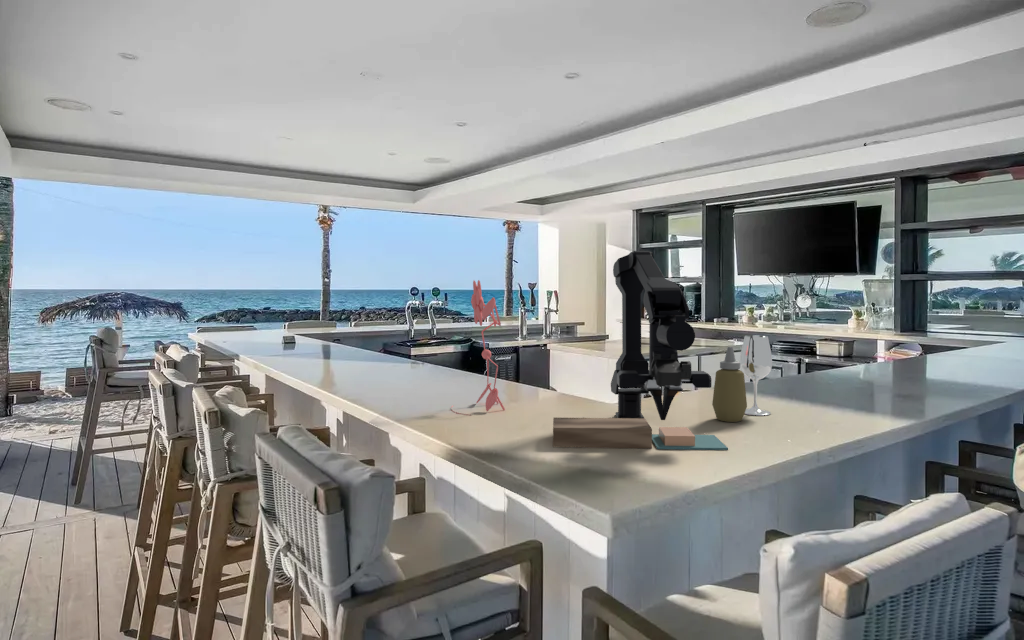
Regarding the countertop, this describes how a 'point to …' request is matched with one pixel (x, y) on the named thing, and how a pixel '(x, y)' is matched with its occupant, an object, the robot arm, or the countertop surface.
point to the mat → (700, 443)
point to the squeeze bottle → (729, 390)
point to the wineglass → (756, 365)
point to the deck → (602, 432)
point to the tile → (676, 436)
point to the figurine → (484, 312)
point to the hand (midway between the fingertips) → (662, 419)
